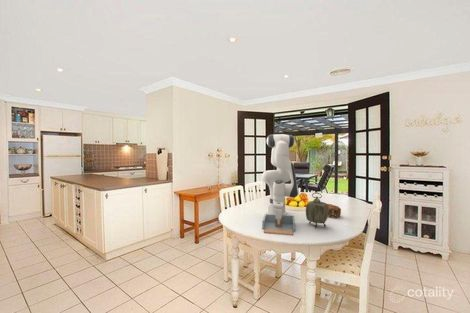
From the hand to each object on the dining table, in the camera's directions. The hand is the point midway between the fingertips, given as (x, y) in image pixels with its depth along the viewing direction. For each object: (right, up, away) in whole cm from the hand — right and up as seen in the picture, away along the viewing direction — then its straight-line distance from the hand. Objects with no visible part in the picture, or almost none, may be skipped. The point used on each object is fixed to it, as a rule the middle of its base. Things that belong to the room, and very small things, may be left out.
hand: (278, 221), depth 160 cm
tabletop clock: (+28, -5, +3) cm, 29 cm away
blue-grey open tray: (0, -4, 0) cm, 4 cm away
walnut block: (0, -3, 0) cm, 3 cm away
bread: (+49, -4, +31) cm, 58 cm away
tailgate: (-2, -3, -9) cm, 9 cm away
